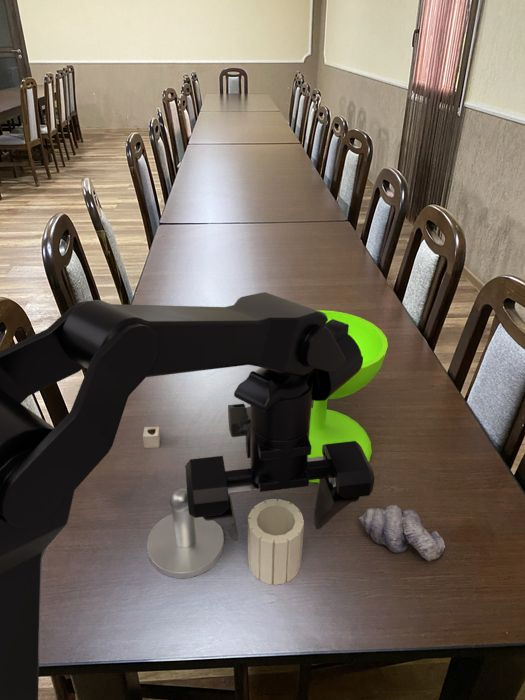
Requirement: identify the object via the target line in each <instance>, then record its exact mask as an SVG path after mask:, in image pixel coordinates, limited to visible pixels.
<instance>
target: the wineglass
mask: <svg viewBox="0 0 525 700" xmlns="http://www.w3.org/2000/svg"><path fill="white" fill-rule="evenodd" d="M316 310H317V311H320V312H322V313H325V314H326V316H327V318H328V321H327V322H329V321H330V320H332V319H334V320H337V321H340V322H343V323H346V324H348V325H349V329H348V334H349V335H350V336H351V337H352V338H353V339H354V340H355V342H356V343H357V345H358V346H359V349H360V351H361V355H362V357H363V364H362V367H361V369H360V370H359V372H358V373H357V374H355V375H354V376H353V377H352V378H351V379H350V380H348V381H347V382H346V383H345V384H344V385H343V386H341V387H340V388H339V389H338V390H337V391H335V392H334V393H333V394H332V395H331V396H330V397H328V398H327V399H326V400H325V401H323V400H322V401H314V400H313V403H312V405H313V406H312V407H311V418H310V433H309V441H310V444H311V455H308V458H313V457H321V456H323V454H322V445H324V444H332V443H341V442H350V441H356V442H357V443H358V444H359V445H360V446H361V447H362V450H363V452H364V454H365V456H366V458H367V460H368V462H369V463H370V460H371V456H372V453H373V450H372V449H373V448H372V442H371V439H370V437H369V434H368V433H367V431H366V430H365V429H364V428H363V426H361V424H359V422H357V421H356V420H354V419H353V418H352V417H350V416H348V415H346V414H344V413H341V412H339V411H336V410H333V409H332V410H331V409H328V400H336V399H341V398H346V397H348V396H351V395H353V394H355V393H356V392H358V391H360V390H361V389H363V388H364V387H366V386H367V385H368V384H369V383H370V382H371V381H372V380H373V379H374V378H375V376H376V375H377V373H379V371H380V369H381V368H382V365H383V363H384V360H385V357H386V355H387V354H386V353H387V350H388V347H389V343H388V339H387V336H386V335H385V333H384V332H383V331H382V330H381V328H379V327H377V326H376V324H374V323H373V322H371V321H368V320H367V319H364V318H363V317H360V316H357V315H354V314H350V313H347V312H342V311H341V312H340V311H337V310H321V309H316ZM327 322H326V323H327ZM309 483H316V484H319V479H315V480H309Z"/></svg>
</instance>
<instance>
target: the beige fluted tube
mask: <svg viewBox="0 0 525 700" xmlns="http://www.w3.org/2000/svg"><path fill="white" fill-rule="evenodd" d="M304 529H305V520H304V516H303V513H302V511H301V509H300V508H299V507H297V506H296V505H295V504H294V503H292V502H290V501H288V500H284V499H281V498H278V499H277V498H270V499H264V501H261V502H259V503H257V504H256V505H254V506H253V508H251V510H250V512H249V514H248V516H247V563H248V568H249V569H248V570H250V573H251V574H252V575H253V576H254V577H255V578H256V580H257V581H258V580H260V581H259V582H261V583H264V584H268V585H271V586H272V585H273V586H279V585H285V584H286V583H289V582H290V581H292V580H293V579H294V578H296V577H297V575H298V574H299V572H300V569H301V566H302V557H303V543H304V542H303V541H304V531H305V530H304Z"/></svg>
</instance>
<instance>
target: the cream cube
mask: <svg viewBox="0 0 525 700" xmlns="http://www.w3.org/2000/svg"><path fill="white" fill-rule="evenodd" d="M143 428H144V429H143V433H142V440H143V447H144V449H159V448H160V446H161V430H160V426H144V427H143Z"/></svg>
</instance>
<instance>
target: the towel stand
mask: <svg viewBox="0 0 525 700" xmlns="http://www.w3.org/2000/svg"><path fill="white" fill-rule="evenodd" d="M169 504H170V507H171V513H170V514H168V515H166V516H164V517H163V518H161V519H160V520H158V521H157V522H156V523H155V524H154V526H153V527H152V528H151V530H150V532H149V533H148V537H147V540H146V551H147V556H148V560H149V562H150V564H151V565H152V566H153V568H154V569H155V570H156V571H158V572H159V573H161V574H162V575H163V576H165V577H170V578H173V579H189V578H194V577H197V576H200V575H202V574H205V573H206V572H207V571H209V570H210V569H212V568H213V567H214V566H215V565H216V564H217V563H218V562H219V560H220V558H222V554H223V552H224V548H225V535H224V530H223V527H221V526H220V525H219V524H217V523H216V522H215V521H213V520H211V521H206V520H204V519H203V517H199V518H194V517H193V516H191V515H189V509H188V497H187V488H184V487H183V488H182V487H181V488H178V489H175V490H174V491H173V492H172V493H171V495H170V497H169Z"/></svg>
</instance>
